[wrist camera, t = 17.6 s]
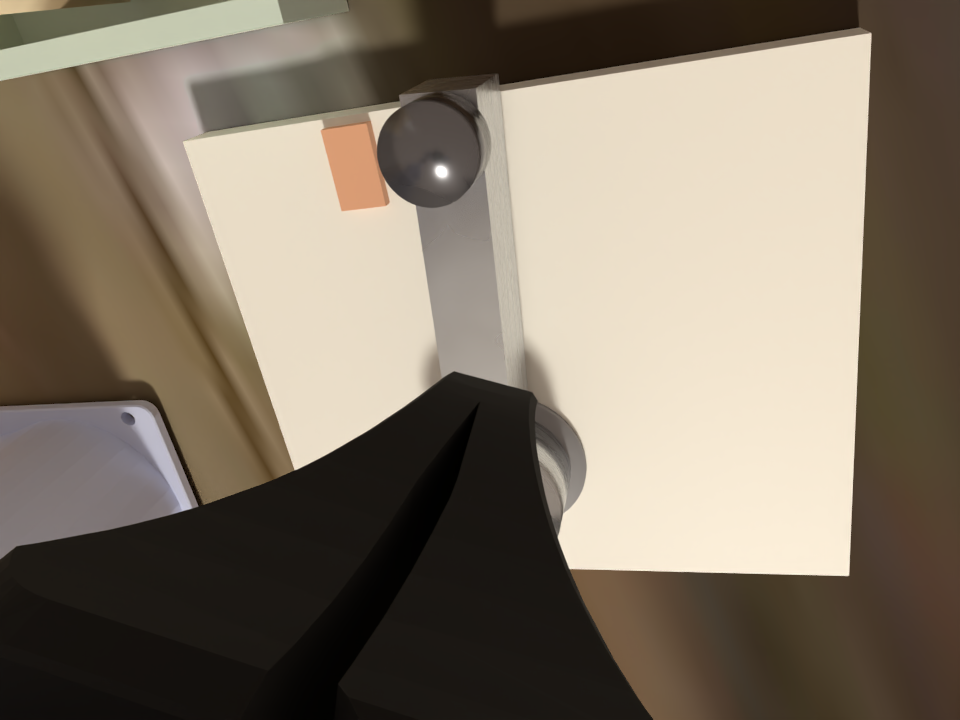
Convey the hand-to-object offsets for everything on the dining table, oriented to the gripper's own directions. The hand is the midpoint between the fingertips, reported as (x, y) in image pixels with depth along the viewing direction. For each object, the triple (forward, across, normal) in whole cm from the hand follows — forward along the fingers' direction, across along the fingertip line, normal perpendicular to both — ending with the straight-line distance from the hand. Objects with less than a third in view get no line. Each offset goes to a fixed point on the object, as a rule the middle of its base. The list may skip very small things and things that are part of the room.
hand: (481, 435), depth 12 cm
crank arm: (+8, +1, +2) cm, 8 cm away
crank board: (+9, 0, +3) cm, 10 cm away
